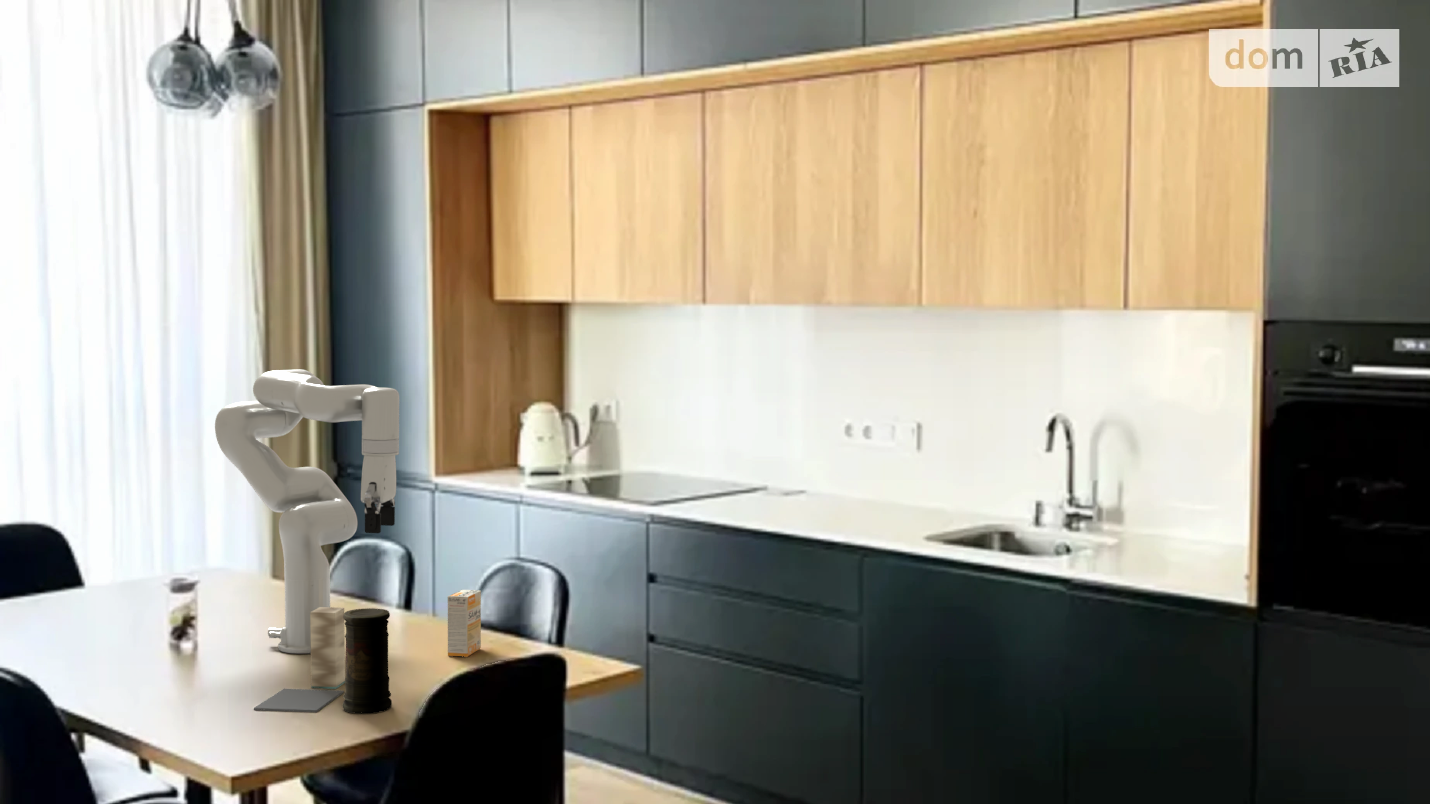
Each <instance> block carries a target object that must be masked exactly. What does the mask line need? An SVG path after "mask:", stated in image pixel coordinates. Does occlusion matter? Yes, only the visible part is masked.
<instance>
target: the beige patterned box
mask: <svg viewBox="0 0 1430 804" xmlns="http://www.w3.org/2000/svg"><path fill="white" fill-rule="evenodd" d="M344 613H345V607H334V606H333V607H331V606H330V607H319V608H317V609H315V610H313V611H312V612H310V630H311V653H310V680H311V681H310V682H311V684H310V685H311V686H310V689H321V690H337V689H339V687H341V686H342V685H344V684H345V678H346V638H345V635H346V627H345V620H344V619H343V615H344Z"/></svg>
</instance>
